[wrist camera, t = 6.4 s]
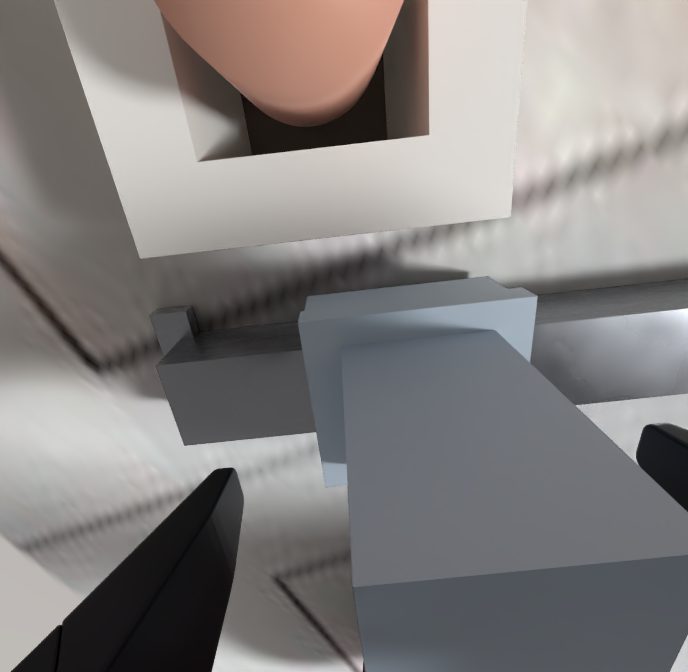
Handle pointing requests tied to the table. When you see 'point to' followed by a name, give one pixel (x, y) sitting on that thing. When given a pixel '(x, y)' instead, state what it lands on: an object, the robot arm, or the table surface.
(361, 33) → the button
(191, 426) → the rail
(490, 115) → the white button housing
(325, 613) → the table surface
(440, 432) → the carriage
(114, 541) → the table surface
